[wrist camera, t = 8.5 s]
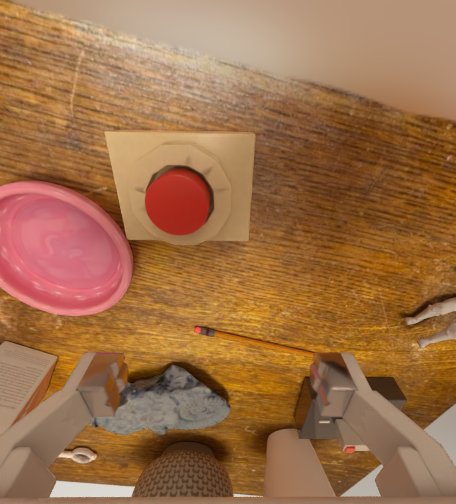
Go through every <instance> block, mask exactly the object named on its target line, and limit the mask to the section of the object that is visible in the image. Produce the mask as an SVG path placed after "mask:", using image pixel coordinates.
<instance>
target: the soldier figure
mask: <svg viewBox="0 0 456 504" xmlns="http://www.w3.org/2000/svg"><path fill="white" fill-rule="evenodd" d="M454 311H456V297H454V298H451V299H447V300H445V301H443V302H441V303H435V304H433V305H428V308H427V309H425V310H424V311H423V312H421V313H419V314H418V315H417V316H415V317H414V318H413V317H406V318H405V321H406V323H407V325H410V324H416V323H417V322H419V321H421V320H423V319H426V318H429V317H432V316H439V315H444V314H447V313H450V312H454ZM449 339H456V318H455V319H454V320H453V321H452V322H451V323H450V325H449V326H447V327H446V329H443V330H442V331H440V332H438V333H436V334H434V335H432V336H431V337H427V338H420V339H418V340H417V342H418V344H419V346H420V348H421V349H422V348H424V346H425V345H428V344H430V343H436V342H439V341H443V340H449Z"/></svg>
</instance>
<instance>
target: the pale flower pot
mask: <svg viewBox="0 0 456 504" xmlns="http://www.w3.org/2000/svg"><path fill="white" fill-rule="evenodd" d="M264 497H336V496H335V493H334V491H333V489H332V487H331V485H330V483H329V480H328V478H327V476H326V474H325V472H324V470H323V468H322V465H321V463H320V461H319V459H318V457H317V455H316V452H315V450H314V448H313V446H312V444H311V442H310V439H299V437H298V433H297V429H282V430H278V431H275V432H273V433H272V434H270V435H269V437H268V440H267V454H266V468H265V483H264Z"/></svg>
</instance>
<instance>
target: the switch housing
mask: <svg viewBox="0 0 456 504" xmlns="http://www.w3.org/2000/svg"><path fill="white" fill-rule="evenodd" d="M366 380H367V382H368V383H369V385H370V387H371V389H372V390H373V391H377V392H378V393H379V394H381V395H382V396H383V397H384V398H385V399H387V400H388V401H389V402H390V403H391V404H393V405H394V406H395V407H396V408H397V409H399V410H401V409H402V407H403V406H404V404H405V403H406V401H407V399H406V397H405V396H404V394H403V393H402V391H401V389H400V388H399V386H398V385H397V383H396V382H395V380H394V378H366ZM317 394H318V393H317V392H316V391H315V390H314V389H313V388H312V385H311V381H310V377H305V380H304V383H303V387H302V390H301V394H300V397H299V401H298V404H297V408H296V412H295V415H294V419H295V424H296V428H297V433H298V437H299V439H338V436H337V433H336V430H335V427H334V422H335V420H336V419H343V417H332V416H321V414H320V410H319V407H318V404H317V401H316V397H317Z"/></svg>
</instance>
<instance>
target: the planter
mask: <svg viewBox="0 0 456 504" xmlns="http://www.w3.org/2000/svg"><path fill="white" fill-rule="evenodd" d="M132 497H233V489H232V484H231V480H230V477H229V474H228V472H227V471H226V469H225V467H224V466H223V465H222V464H221V463H220V462H219V461H218V460H217V459H215V457H214V454H213V452H212V450H211V449H210V448H209V447H208V446H206V445H204V444H201V443H197V442H188V441H187V442H177V443H174V444H171V445H169V446H168V447H167V448H166V449H165V450H164V452H163V453H162V455H161V456H159V457H158V458H156V459H154V460H153V461H152V462H151V463H150V464H149V465H148V466H147V467H146V468H145V469H144V471H143V472H142V474H141V476H140V477H139V479H138V481H137V484H136V486H135V489H134V491H133V494H132Z"/></svg>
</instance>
